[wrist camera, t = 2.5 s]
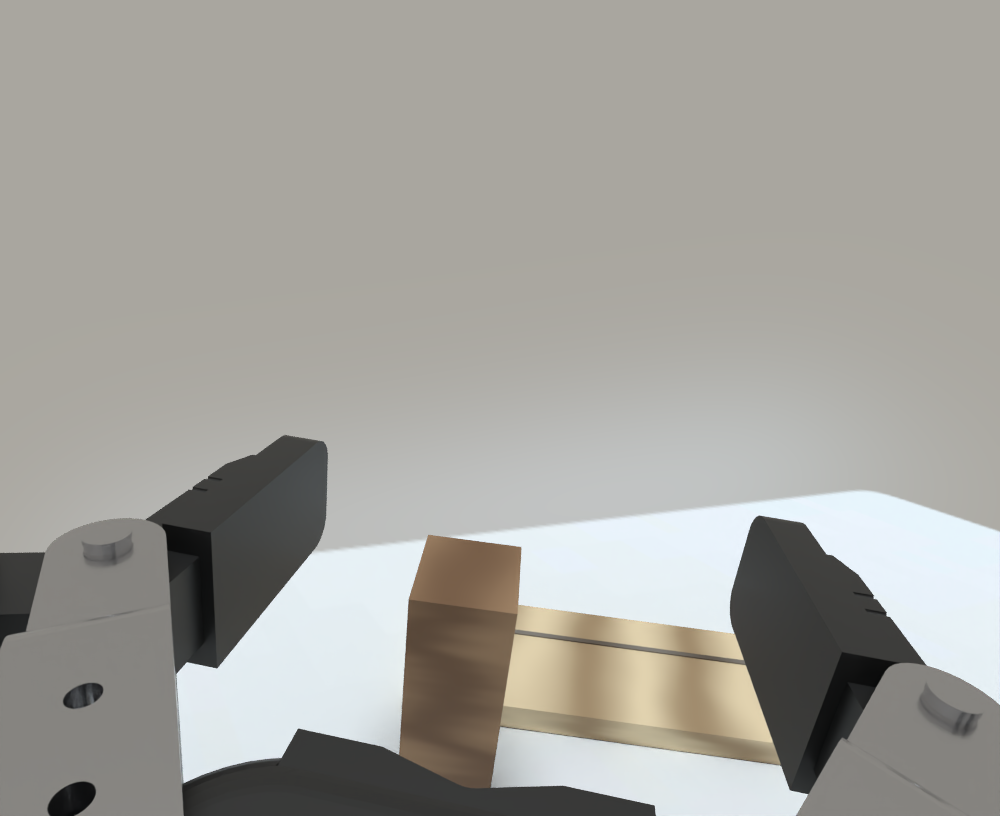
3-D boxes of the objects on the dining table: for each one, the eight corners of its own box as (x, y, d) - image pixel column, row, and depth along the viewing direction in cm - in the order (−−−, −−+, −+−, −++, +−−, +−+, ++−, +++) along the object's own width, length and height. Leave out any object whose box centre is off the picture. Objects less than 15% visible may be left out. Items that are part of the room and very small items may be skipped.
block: (499, 637, 39) (526, 450, 34) (480, 850, 27) (517, 614, 22) (439, 629, 39) (456, 440, 34) (394, 838, 27) (408, 599, 22)
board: (750, 655, 40) (758, 635, 40) (797, 767, 33) (806, 746, 32) (428, 611, 41) (430, 592, 40) (403, 712, 33) (404, 690, 33)
